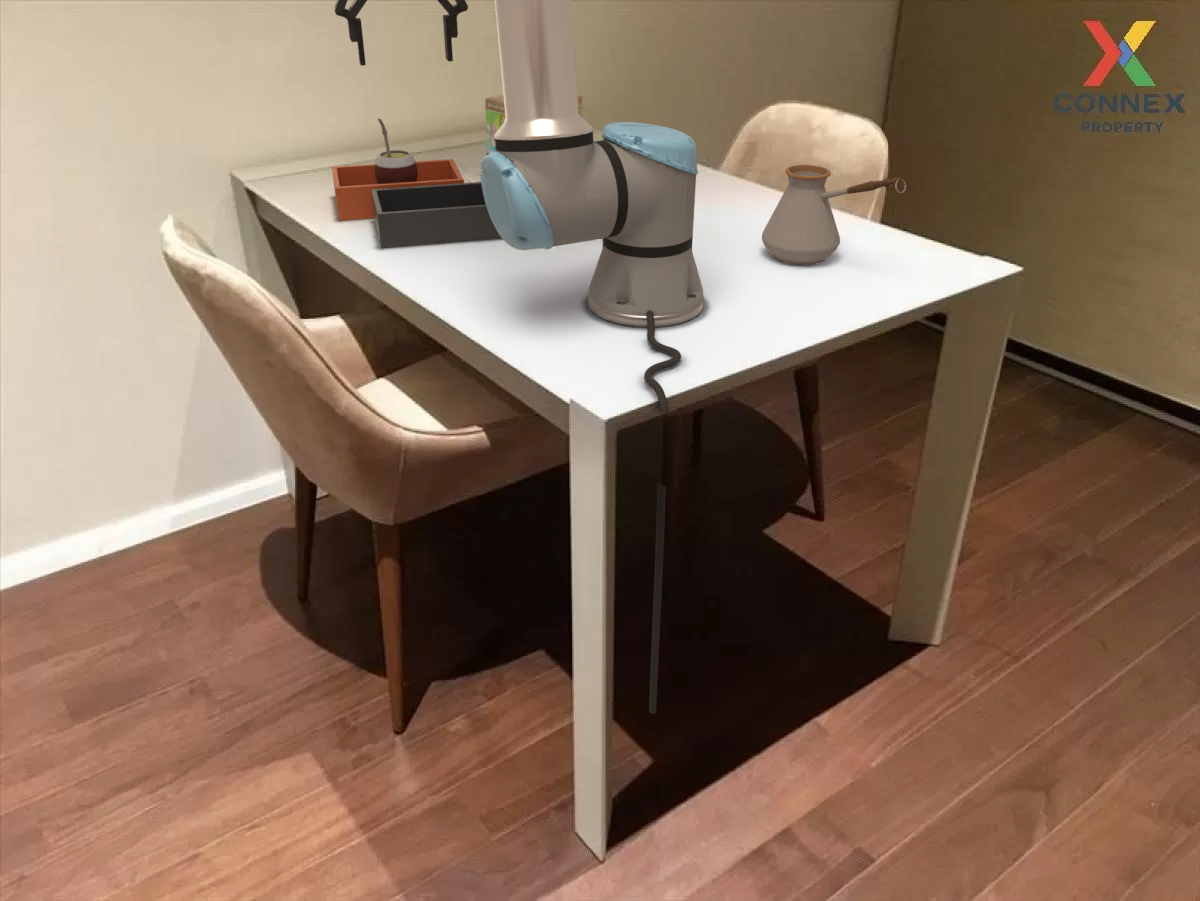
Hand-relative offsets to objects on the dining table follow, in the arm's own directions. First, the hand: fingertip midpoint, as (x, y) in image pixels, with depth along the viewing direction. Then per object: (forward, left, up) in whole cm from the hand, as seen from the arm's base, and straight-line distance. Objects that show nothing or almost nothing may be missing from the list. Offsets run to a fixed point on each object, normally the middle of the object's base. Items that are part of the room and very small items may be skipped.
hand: (406, 62), depth 164 cm
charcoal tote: (-14, -2, -23) cm, 27 cm away
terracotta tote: (+1, +3, -23) cm, 23 cm away
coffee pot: (-43, -54, -23) cm, 73 cm away
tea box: (+11, -22, -23) cm, 34 cm away
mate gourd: (+1, +3, -23) cm, 23 cm away
